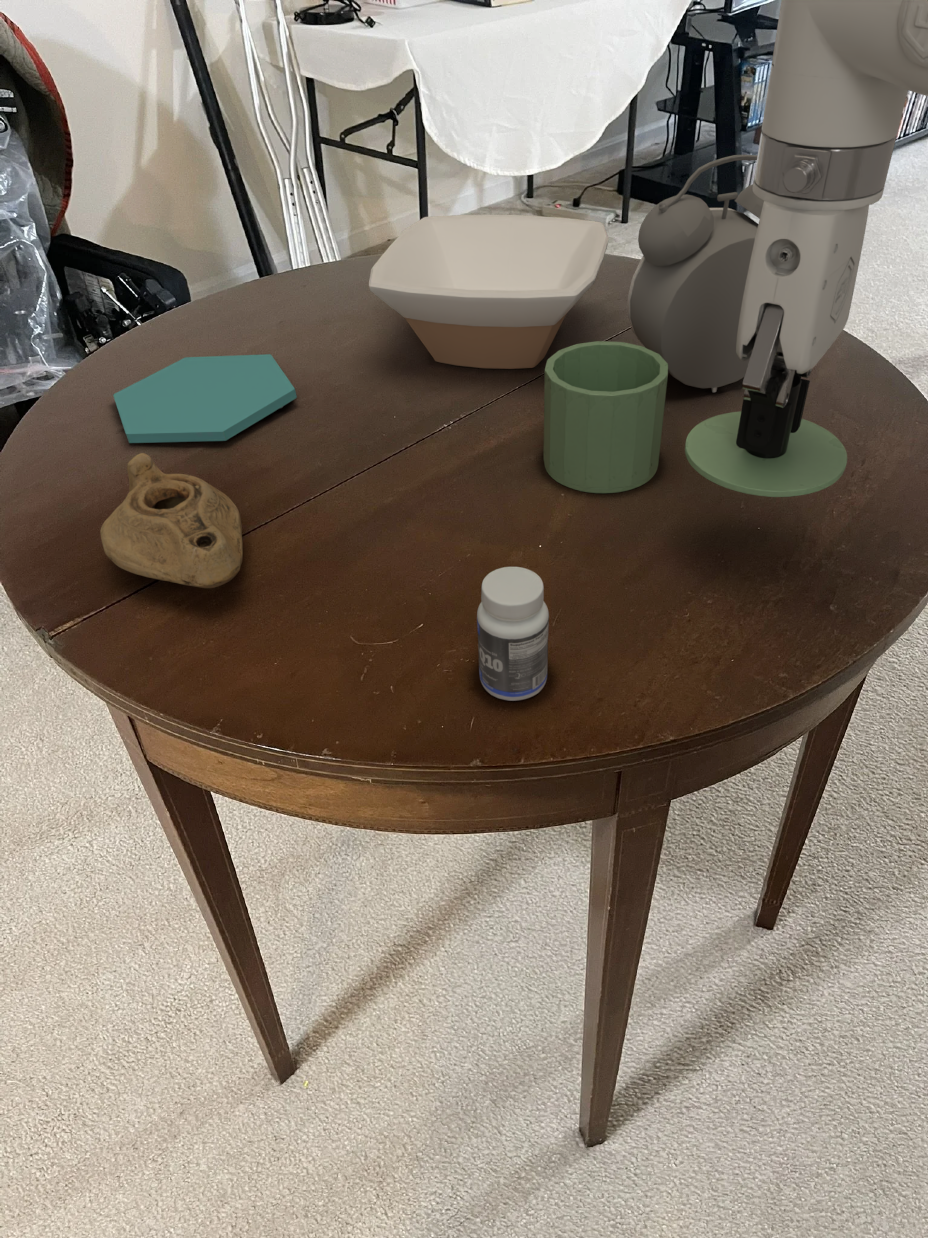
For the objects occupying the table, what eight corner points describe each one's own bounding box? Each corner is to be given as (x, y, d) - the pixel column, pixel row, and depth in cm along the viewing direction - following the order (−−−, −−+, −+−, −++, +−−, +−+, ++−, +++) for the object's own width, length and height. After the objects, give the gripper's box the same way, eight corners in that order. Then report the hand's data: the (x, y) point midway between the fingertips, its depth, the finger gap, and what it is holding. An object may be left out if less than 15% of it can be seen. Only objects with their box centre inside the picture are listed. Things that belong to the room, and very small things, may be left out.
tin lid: (717, 410, 75) (729, 331, 70) (863, 446, 70) (885, 363, 65) (658, 476, 67) (668, 393, 63) (816, 521, 62) (837, 434, 58)
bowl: (362, 386, 100) (350, 288, 93) (423, 298, 118) (417, 210, 111) (582, 401, 95) (587, 299, 88) (611, 307, 113) (616, 216, 106)
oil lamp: (193, 638, 69) (166, 552, 64) (84, 564, 77) (52, 482, 72) (303, 568, 75) (286, 484, 70) (191, 506, 83) (169, 426, 78)
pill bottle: (468, 667, 66) (463, 573, 60) (528, 648, 67) (528, 554, 61) (497, 711, 62) (494, 616, 57) (559, 690, 64) (562, 594, 58)
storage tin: (576, 425, 91) (580, 332, 85) (675, 451, 87) (687, 355, 81) (523, 474, 85) (523, 377, 79) (627, 505, 80) (636, 405, 74)
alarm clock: (750, 352, 102) (786, 132, 88) (795, 385, 96) (842, 154, 81) (613, 379, 98) (628, 154, 84) (651, 415, 92) (674, 179, 78)
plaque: (84, 452, 93) (275, 449, 90) (77, 434, 92) (271, 431, 89) (149, 372, 106) (318, 368, 103) (144, 356, 105) (314, 351, 102)
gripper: (845, 214, 49) (780, 508, 61) (920, 139, 59) (852, 403, 71) (709, 195, 52) (673, 477, 64) (802, 127, 62) (756, 381, 74)
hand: (767, 436), depth 67 cm, fingers closed on tin lid, 3 cm apart
